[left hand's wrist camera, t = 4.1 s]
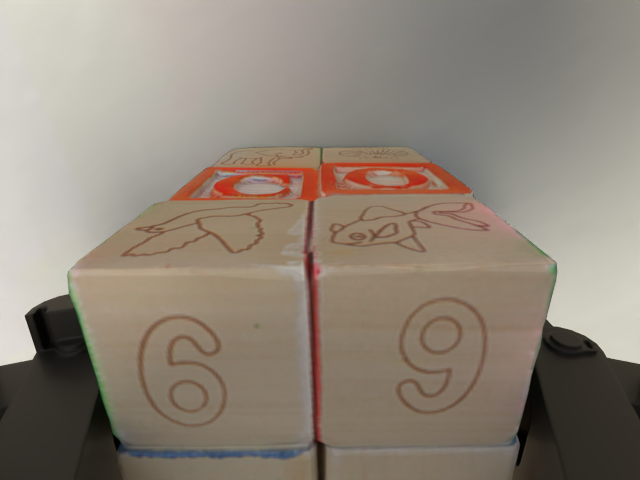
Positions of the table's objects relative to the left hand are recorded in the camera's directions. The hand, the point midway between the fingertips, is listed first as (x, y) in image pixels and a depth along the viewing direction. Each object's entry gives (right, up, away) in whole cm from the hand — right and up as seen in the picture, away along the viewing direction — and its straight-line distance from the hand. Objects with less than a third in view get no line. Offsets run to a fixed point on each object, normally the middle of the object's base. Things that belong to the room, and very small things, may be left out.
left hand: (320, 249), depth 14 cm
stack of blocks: (0, -6, +3) cm, 7 cm away
